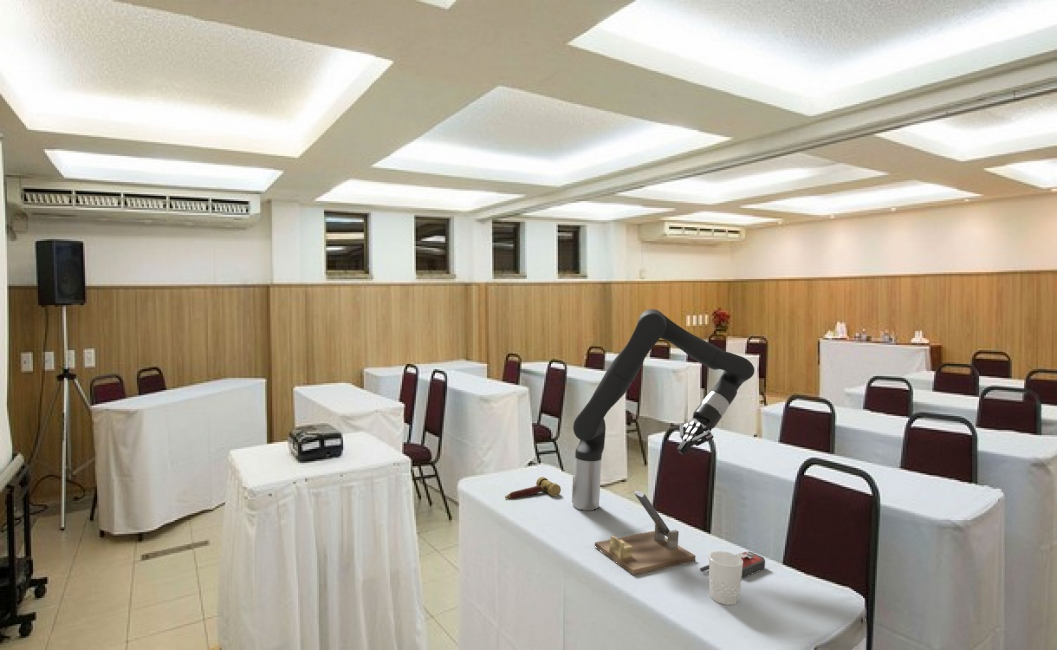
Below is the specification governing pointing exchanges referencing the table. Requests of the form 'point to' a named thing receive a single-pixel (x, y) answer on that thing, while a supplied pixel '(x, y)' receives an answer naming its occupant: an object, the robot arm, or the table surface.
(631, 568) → the latch board
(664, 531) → the strap
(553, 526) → the table surface
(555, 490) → the gavel
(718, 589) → the white cup
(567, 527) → the table surface
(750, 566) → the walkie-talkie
